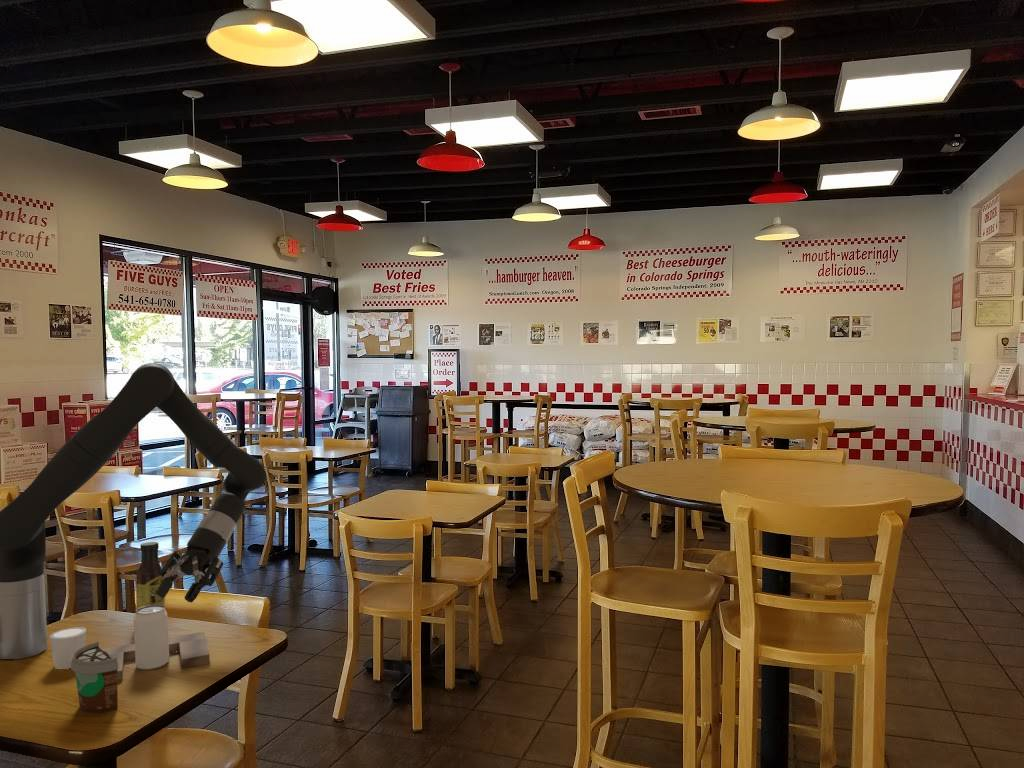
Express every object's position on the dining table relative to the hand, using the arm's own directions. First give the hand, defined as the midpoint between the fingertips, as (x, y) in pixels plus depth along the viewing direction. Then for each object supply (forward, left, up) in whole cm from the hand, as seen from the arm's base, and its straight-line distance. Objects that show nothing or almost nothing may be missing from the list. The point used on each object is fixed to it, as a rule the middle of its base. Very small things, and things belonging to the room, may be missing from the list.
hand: (173, 598), depth 164 cm
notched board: (-5, -2, -12) cm, 13 cm away
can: (-5, -4, -13) cm, 14 cm away
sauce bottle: (-5, +24, -13) cm, 28 cm away
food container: (-15, -20, -13) cm, 28 cm away
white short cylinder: (-21, +5, -13) cm, 25 cm away
